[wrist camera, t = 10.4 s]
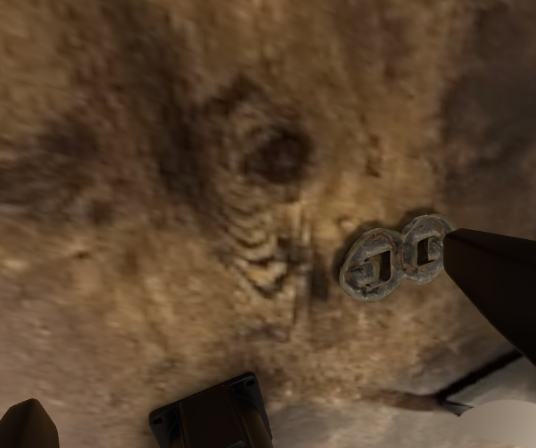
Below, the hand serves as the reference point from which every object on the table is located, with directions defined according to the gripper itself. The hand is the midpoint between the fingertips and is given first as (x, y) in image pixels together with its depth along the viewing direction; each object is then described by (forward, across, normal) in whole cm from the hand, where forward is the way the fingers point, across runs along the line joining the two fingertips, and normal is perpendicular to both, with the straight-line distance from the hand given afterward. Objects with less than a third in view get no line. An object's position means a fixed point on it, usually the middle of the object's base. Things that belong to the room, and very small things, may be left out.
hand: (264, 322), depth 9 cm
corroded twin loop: (+12, -10, +9) cm, 18 cm away
